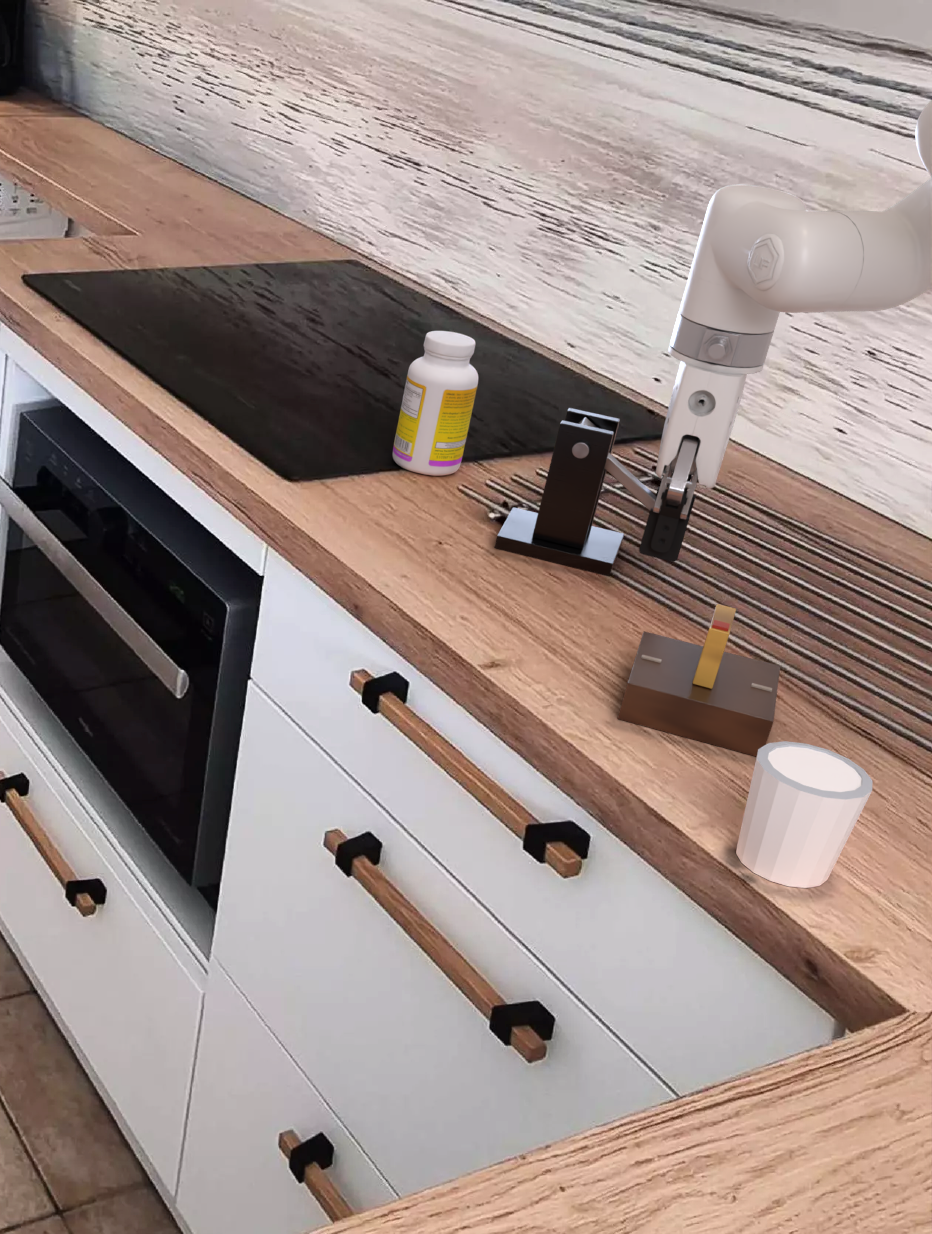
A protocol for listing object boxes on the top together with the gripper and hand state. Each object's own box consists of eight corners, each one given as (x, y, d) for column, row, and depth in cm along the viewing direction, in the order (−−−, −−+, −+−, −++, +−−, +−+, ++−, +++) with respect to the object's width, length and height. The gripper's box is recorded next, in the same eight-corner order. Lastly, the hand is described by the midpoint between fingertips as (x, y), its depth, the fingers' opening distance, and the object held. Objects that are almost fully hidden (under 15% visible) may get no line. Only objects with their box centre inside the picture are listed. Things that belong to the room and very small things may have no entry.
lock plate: (768, 700, 131) (781, 663, 129) (761, 758, 122) (774, 719, 121) (633, 665, 134) (644, 628, 132) (617, 719, 126) (628, 680, 124)
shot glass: (801, 831, 114) (833, 739, 111) (860, 893, 108) (897, 797, 105) (705, 832, 112) (736, 739, 109) (760, 894, 106) (794, 797, 103)
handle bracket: (621, 545, 156) (655, 421, 151) (609, 576, 149) (644, 447, 144) (510, 519, 159) (539, 396, 154) (494, 548, 152) (524, 420, 147)
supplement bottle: (467, 464, 171) (495, 338, 165) (448, 483, 166) (476, 353, 160) (402, 448, 174) (427, 322, 168) (381, 466, 168) (407, 337, 162)
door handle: (668, 524, 152) (689, 506, 151) (662, 543, 148) (684, 525, 147) (567, 431, 152) (587, 412, 151) (558, 447, 148) (579, 427, 147)
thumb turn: (699, 657, 129) (717, 600, 127) (719, 662, 129) (737, 605, 126) (692, 683, 125) (710, 624, 123) (712, 689, 124) (730, 630, 122)
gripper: (761, 378, 134) (696, 591, 142) (773, 328, 148) (713, 524, 156) (662, 358, 136) (604, 568, 145) (682, 310, 150) (628, 504, 159)
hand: (661, 543), depth 150 cm, fingers closed on door handle, 5 cm apart
